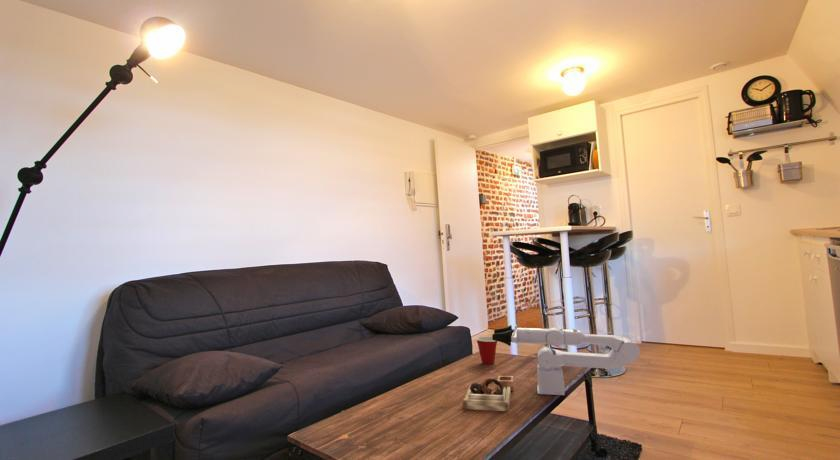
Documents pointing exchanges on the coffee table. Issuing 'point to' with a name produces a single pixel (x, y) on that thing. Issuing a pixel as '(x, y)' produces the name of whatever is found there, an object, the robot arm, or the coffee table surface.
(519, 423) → the coffee table surface
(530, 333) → the robot arm
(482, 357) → the plastic cup
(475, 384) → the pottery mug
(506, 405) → the frame
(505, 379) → the pull frame
